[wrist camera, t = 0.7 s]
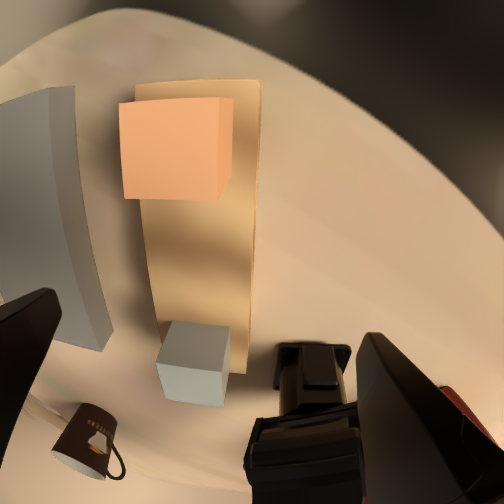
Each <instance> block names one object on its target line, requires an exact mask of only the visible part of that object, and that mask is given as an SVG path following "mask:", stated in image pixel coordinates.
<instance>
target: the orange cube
mask: <svg viewBox="0 0 504 504" xmlns="http://www.w3.org/2000/svg"><path fill="white" fill-rule="evenodd" d="M233 105H234V99H233V98H221V97H203V98H176V99H160V100H148V101H138V102H128V103H120V104H119V130H120V150H121V165H122V178H123V188H124V198H125V199H167V200H196V201H218V199H219V198H220V196H221V194H222V192H223V190H224V189H225V187H226V185H227V183H228V181H229V180H230V178H231V172H232V135H233Z"/></svg>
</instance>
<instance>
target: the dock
mask: <svg viewBox="0 0 504 504" xmlns="http://www.w3.org/2000/svg"><path fill="white" fill-rule="evenodd" d="M42 287H47V288H51V289H54V290H55V291H56V293H57V296H58V300H59V303H60V306H61V309H62V318H61V320H60V323H59V325H58V327H57V330H56V332H55V334H54V337H53V339H54V340H57V341H61V342H64V343H68V344H71V345H75V346H79V347H83V348H86V349H90V350H95V351H99V352H102V350H103V349H104V347H105V345H106V343H107V342H108V340H109V338H110V336H111V335H112V333H113V331H114V330H113V327H112V324H111V321H110V317H109V314H108V311H107V307H106V304H105V300H104V297H103V293H102V289H101V286H100V282H99V278H98V274H97V270H96V265H95V261H94V257H93V252H92V247H91V242H90V237H89V232H88V227H87V222H86V216H85V210H84V203H83V197H82V190H81V182H80V174H79V164H78V154H77V142H76V125H75V86H66V87H51V88H46V89H43V90H40V91H36V92H33V93H30V94H27V95H24V96H21V97H19V98H16V99H13V100H10V101H8V102H5V103H3V104H0V291H1V294H2V296H3V299H4V301H5V303H8V302H10V301H12V300H15V299H17V298H19V297H21V296H24V295H26V294H28V293H31V292H33V291H35V290H38V289H40V288H42Z"/></svg>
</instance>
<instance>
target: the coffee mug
mask: <svg viewBox="0 0 504 504" xmlns="http://www.w3.org/2000/svg"><path fill="white" fill-rule="evenodd" d="M116 427H117V421H116V419H115V418H114V417H113V416H112V415H111V414H109V413H108V412H106V411H105V410H103V409H101V408H99V407H97V406H95V405H92V404H89V403H83V404H81V406H80V407H79V409H78V410H77V411H76V413H75V414H74V416H73V417H72V419H71V421H70V422H69V424H68V425H67V427H66V428H65V430H64V431H63V433H62V434H61V436H60V437H59V439H58V440H57V442H56V444H55V445H54V447H53V449H52V450H51V453H52V454H53V455H54V456H55V457H56V458H57V459H58V460H60V461H61V462H63V463H64V464H66V465H67V466H69V467H71V468H72V469H74V470H76V471H78V472H80V473H82V474H84V475H86V476H89V477H92V478H94V479H98V480H105V478H106V475H107V476H108V477H109V478H111V479H113V480H121V479H123V478H124V476H125V473H126V469H125V465H124V463H123V460H122V458H121V456H120V455H119V453H118V451H117V449H116V448H115V446H114V444H113V440H114V436H115V431H116ZM111 449H113V451H114V453H115V454H116V456H117V458H118V459H119V461H120V464H121V467H122V474H121V475H120V476H119V477H114V476H112V475H111V474H110V473H109V471H108V469H107V468H108V463H109V458H110V454H111Z"/></svg>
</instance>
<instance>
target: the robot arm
mask: <svg viewBox="0 0 504 504" xmlns="http://www.w3.org/2000/svg"><path fill="white" fill-rule="evenodd" d="M61 318H62V309H61V306H60V303H59V300H58V296H57V293H56V291H55V290H54V289H51V288H47V287H42V288H40V289H38V290H35V291H33V292H31V293H28V294H26V295H24V296H21V297H19V298H17V299H15V300H12V301H10V302H8V303H6V304H3V305H1V306H0V468H1V465H2V461H3V458H4V455H5V451H6V448H7V446H8V443H9V440H10V437H11V434H12V431H13V429H14V426H15V424H16V421H17V419H18V416H19V414H20V411H21V409H22V407H23V404H24V402H25V399H26V397H27V395H28V393H29V390H30V388H31V386H32V384H33V382H34V379H35V377H36V375H37V373H38V371H39V369H40V367H41V365H42V363H43V361H44V359H45V356H46V354H47V352H48V349H49V347H50V344H51V342H52V339H53V337H54V334H55V332H56V330H57V327H58V325H59V323H60V320H61ZM351 353H352V350H351V347H350V346H340V345H304V344H281V345H280V346H279V349H278V355H277V362H276V369H275V375H274V381H273V389H274V390H280V401H279V416H278V417H270V418H263V417H262V418H256V421H255V424H254V426H253V429H252V433H251V436H250V440H249V443H248V446H247V450H246V453H245V456H244V464H243V469H244V470H245V472H246V476H247V479H248V482H249V484H250V485H251V486H252V504H363V503H364V501H365V499H366V482H367V493H368V504H504V451H503V450H502V449H501V448H500V447H498V446H497V445H496V444H495V443H494V442H493V441H492V440H491V439H489V438H488V437H487V436H486V435H485V434H484V433H483V432H482V431H481V430H480V429H479V428H478V427H477V426H476V425H475V424H474V423H473V422H472V421H471V420H470V419H469V418H468V417H467V416H466V415H465V414H463V412H462V411H461V410H460V409H459V408H458V407H457V406H456V405H455V404H454V403H453V402H452V401H451V400H450V399H449V398H448V397H447V396H446V395H445V394H444V393H443V392H442V391H441V390H440V389H439V388H438V387H437V386H436V385H435V384H434V383H433V382H432V381H431V380H430V379H429V378H428V377H427V376H426V375H425V374H424V373H423V372H422V371H421V370H420V369H419V368H418V367H416V366H415V365H414V364H413V363H412V362H411V361H410V360H409V359H408V358H407V357H406V356H405V355H404V354H403V353H402V352H401V351H400V350H399V349H398V348H397V347H396V346H395V345H394V344H393V343H392V342H390V341H389V340H388V339H387V338H386V337H385V336H384V335H383V334H382V333H379V332H368V333H366V334H365V336H364V338H363V340H362V343H361V345H360V348H359V350H358V352H357V356H356V373H357V397H358V400H356V401H355V402H351V403H347V400H346V394H345V387H344V381H343V373H344V371H345V368H346V366H347V363H348V361H349V358H350V355H351ZM365 473H366V481H365Z"/></svg>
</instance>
